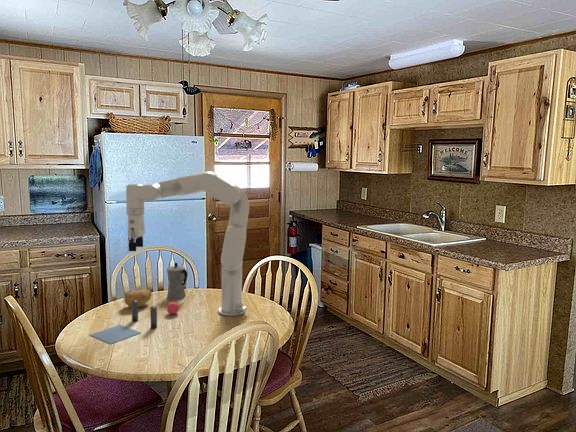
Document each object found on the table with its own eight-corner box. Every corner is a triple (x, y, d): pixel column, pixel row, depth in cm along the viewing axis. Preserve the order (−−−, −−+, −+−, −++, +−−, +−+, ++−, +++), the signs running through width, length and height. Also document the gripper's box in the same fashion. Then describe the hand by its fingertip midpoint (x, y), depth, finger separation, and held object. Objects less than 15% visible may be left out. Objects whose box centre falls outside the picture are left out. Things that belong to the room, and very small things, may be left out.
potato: (156, 304, 217) (156, 288, 216) (132, 312, 206) (132, 295, 205) (143, 300, 223) (143, 285, 222) (119, 308, 211) (119, 291, 210)
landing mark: (141, 332, 182) (141, 332, 182) (110, 344, 171) (110, 343, 171) (120, 325, 190) (120, 324, 190) (89, 335, 179) (89, 334, 179)
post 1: (139, 320, 196) (139, 300, 195) (134, 322, 194) (134, 302, 193) (135, 319, 197) (135, 299, 196) (130, 320, 195) (130, 301, 194)
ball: (181, 313, 206) (181, 302, 205) (172, 316, 201) (172, 305, 201) (173, 311, 209) (173, 299, 208) (164, 314, 204) (164, 302, 204)
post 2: (158, 327, 189) (158, 306, 188) (153, 329, 187) (153, 308, 186) (154, 325, 190) (154, 305, 189) (149, 327, 188) (149, 307, 187)
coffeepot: (160, 296, 230) (160, 262, 228) (175, 292, 238) (175, 259, 235) (179, 302, 221) (179, 267, 219) (194, 298, 228) (194, 264, 226)
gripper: (137, 214, 191) (138, 253, 194) (149, 209, 208) (150, 245, 211) (120, 213, 191) (121, 252, 193) (133, 209, 208) (134, 245, 211)
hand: (136, 248), depth 202 cm, fingers open, 9 cm apart
